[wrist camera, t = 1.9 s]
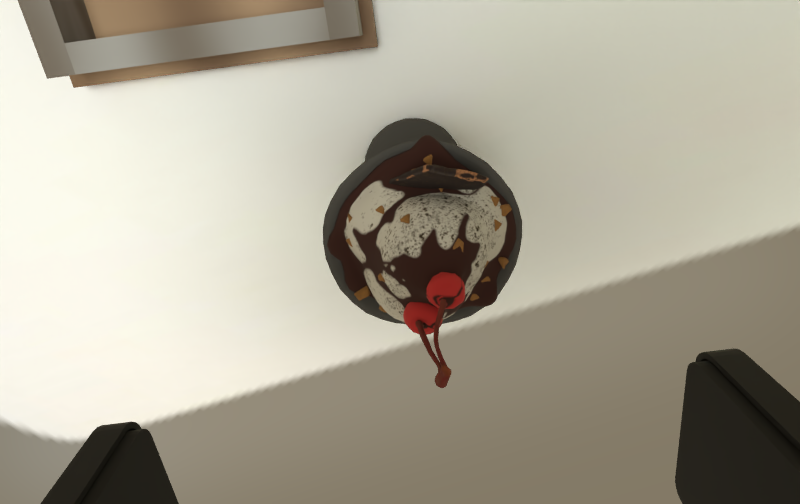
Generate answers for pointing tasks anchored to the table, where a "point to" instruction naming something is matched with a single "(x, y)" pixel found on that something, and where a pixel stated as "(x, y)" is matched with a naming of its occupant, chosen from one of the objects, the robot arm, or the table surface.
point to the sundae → (422, 232)
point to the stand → (187, 34)
